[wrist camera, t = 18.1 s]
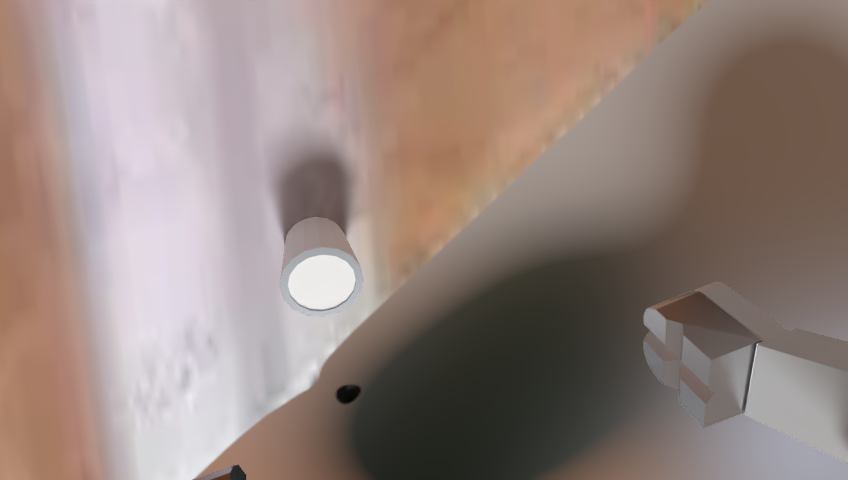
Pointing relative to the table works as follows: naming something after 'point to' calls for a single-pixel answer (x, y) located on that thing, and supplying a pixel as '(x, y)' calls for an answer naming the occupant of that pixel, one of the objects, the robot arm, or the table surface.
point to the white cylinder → (319, 268)
